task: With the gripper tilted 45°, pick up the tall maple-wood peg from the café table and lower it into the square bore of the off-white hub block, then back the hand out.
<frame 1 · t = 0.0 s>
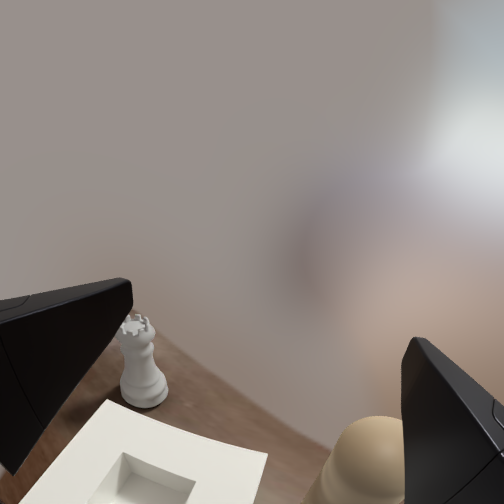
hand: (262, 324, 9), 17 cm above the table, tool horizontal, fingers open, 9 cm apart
rook chess piece: (145, 394, 25), on the table
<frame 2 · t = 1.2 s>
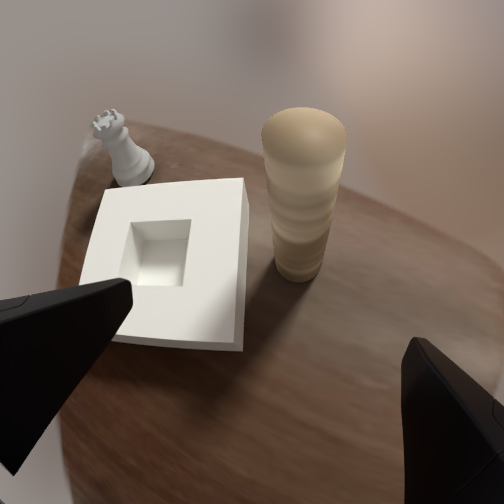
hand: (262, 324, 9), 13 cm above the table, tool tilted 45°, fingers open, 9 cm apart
peg: (298, 260, 24), on the table
rook chess piece: (137, 174, 30), on the table
hub block: (172, 273, 24), on the table
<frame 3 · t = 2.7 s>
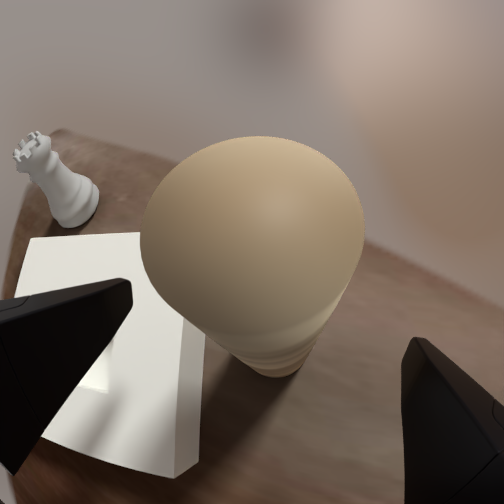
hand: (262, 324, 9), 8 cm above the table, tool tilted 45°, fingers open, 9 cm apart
peg: (276, 345, 16), on the table
rook chess piece: (81, 208, 23), on the table
hub block: (112, 351, 17), on the table
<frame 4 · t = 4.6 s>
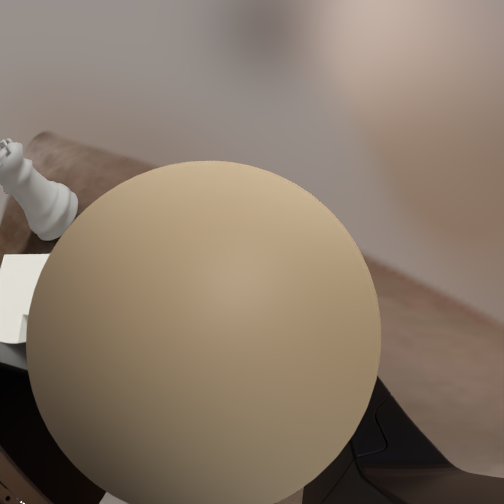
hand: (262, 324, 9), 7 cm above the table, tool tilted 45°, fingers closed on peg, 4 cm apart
peg: (266, 378, 14), on the table, touching gripper
rook chess piece: (60, 219, 20), on the table
hub block: (90, 377, 15), on the table
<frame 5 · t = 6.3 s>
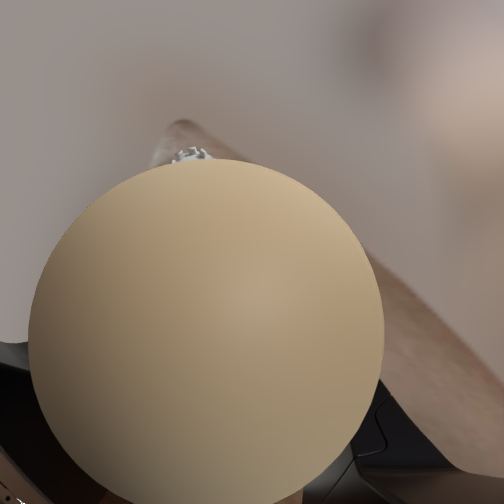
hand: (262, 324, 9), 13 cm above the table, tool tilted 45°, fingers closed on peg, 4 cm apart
peg: (266, 378, 14), point 6 cm above the table, touching gripper
rook chess piece: (215, 225, 26), on the table
when the fingers open (9 cm above the table, at t = 8.2 s): peg drops 1 cm, resting on hub block.
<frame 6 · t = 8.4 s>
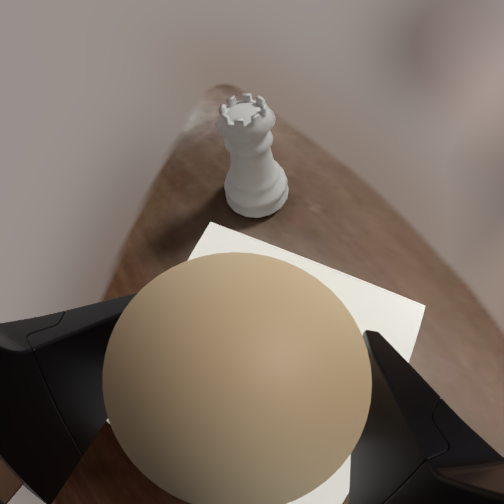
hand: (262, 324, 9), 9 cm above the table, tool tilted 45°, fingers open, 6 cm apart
peg: (267, 379, 15), point 1 cm above the table, touching hub block
rook chess piece: (257, 196, 22), on the table
hub block: (268, 379, 16), on the table
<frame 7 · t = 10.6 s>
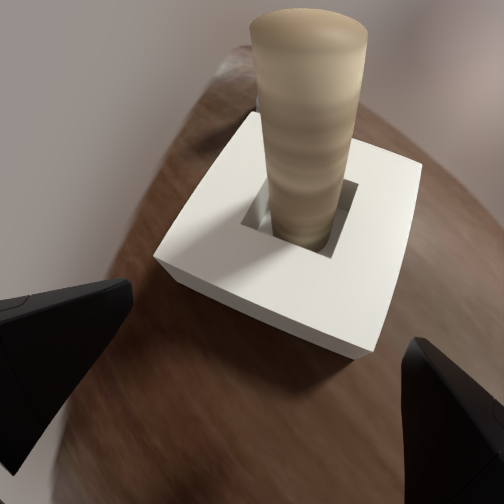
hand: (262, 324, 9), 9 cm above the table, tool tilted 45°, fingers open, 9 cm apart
peg: (301, 229, 19), point 1 cm above the table, touching hub block
hub block: (300, 237, 20), on the table
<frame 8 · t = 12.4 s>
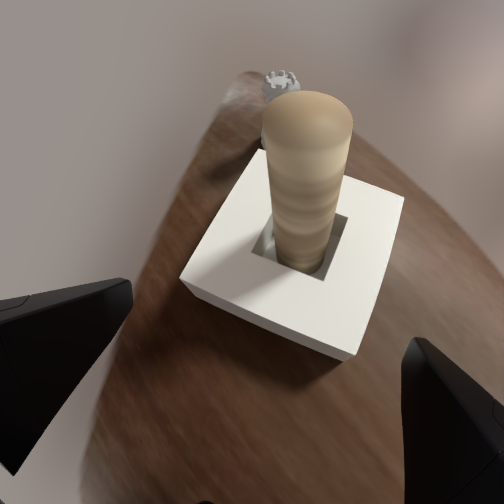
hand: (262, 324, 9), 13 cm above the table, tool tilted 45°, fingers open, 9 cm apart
peg: (300, 253, 23), point 1 cm above the table, touching hub block
rook chess piece: (283, 145, 29), on the table
hub block: (299, 259, 24), on the table
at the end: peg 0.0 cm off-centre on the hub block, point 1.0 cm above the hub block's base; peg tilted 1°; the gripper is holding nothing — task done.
